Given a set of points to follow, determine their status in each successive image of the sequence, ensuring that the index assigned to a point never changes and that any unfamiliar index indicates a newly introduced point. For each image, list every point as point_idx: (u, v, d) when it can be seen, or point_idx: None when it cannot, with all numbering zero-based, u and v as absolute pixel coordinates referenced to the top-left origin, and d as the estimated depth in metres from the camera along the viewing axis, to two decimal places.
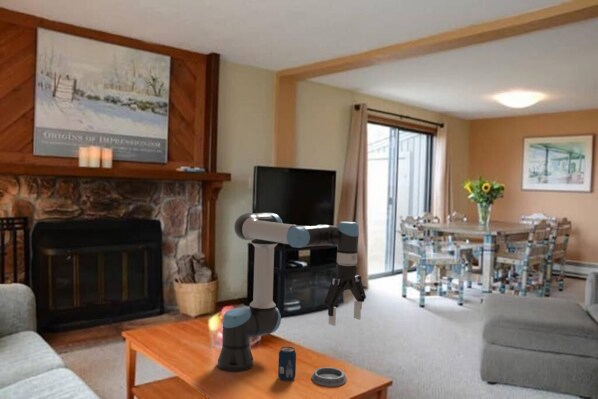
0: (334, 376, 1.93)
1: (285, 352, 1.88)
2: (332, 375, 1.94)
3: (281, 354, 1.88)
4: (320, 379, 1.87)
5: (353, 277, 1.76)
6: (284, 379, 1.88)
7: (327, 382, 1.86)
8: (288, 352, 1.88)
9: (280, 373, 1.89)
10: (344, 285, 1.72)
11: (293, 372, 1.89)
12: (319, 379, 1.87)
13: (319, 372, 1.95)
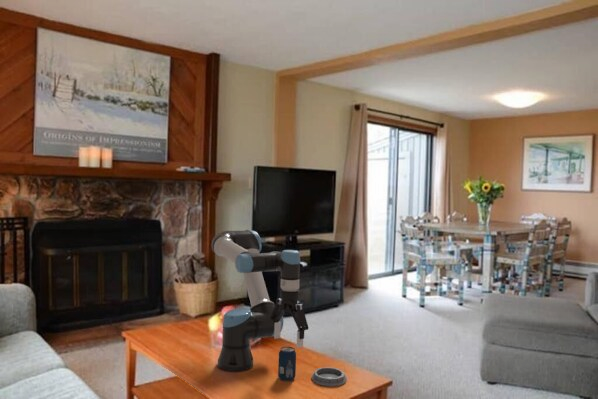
0: (334, 376, 1.93)
1: (285, 352, 1.88)
2: (332, 375, 1.94)
3: (281, 354, 1.88)
4: (320, 379, 1.87)
5: (291, 303, 1.88)
6: (284, 379, 1.88)
7: (327, 382, 1.86)
8: (288, 352, 1.88)
9: (280, 373, 1.89)
10: None
11: (293, 372, 1.89)
12: (319, 379, 1.87)
13: (319, 372, 1.95)
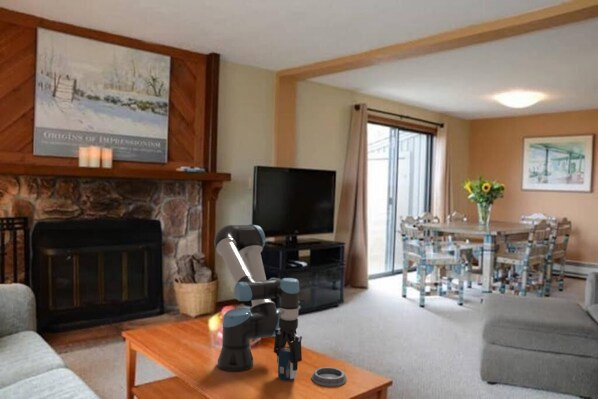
0: (334, 376, 1.93)
1: (285, 352, 1.88)
2: (332, 375, 1.94)
3: (281, 354, 1.88)
4: (320, 379, 1.87)
5: (291, 332, 1.88)
6: (284, 379, 1.88)
7: (327, 382, 1.86)
8: (288, 352, 1.88)
9: (280, 373, 1.89)
10: (281, 336, 1.91)
11: None
12: (319, 379, 1.87)
13: (319, 372, 1.95)
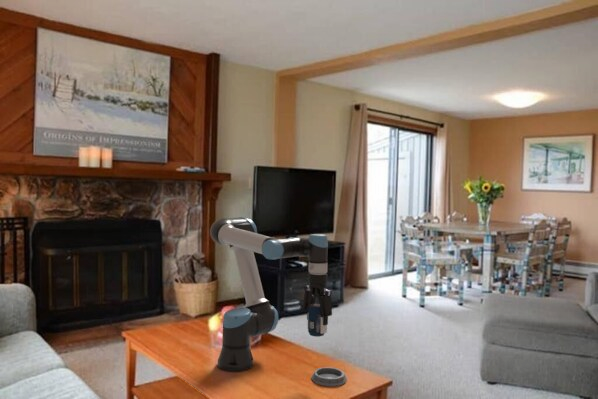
0: (334, 376, 1.93)
1: (315, 307, 1.88)
2: (332, 375, 1.94)
3: (311, 309, 1.88)
4: (320, 379, 1.87)
5: (320, 286, 1.87)
6: (314, 334, 1.87)
7: (327, 382, 1.86)
8: (318, 307, 1.87)
9: (310, 328, 1.88)
10: (310, 292, 1.91)
11: None
12: (319, 379, 1.87)
13: (319, 372, 1.95)
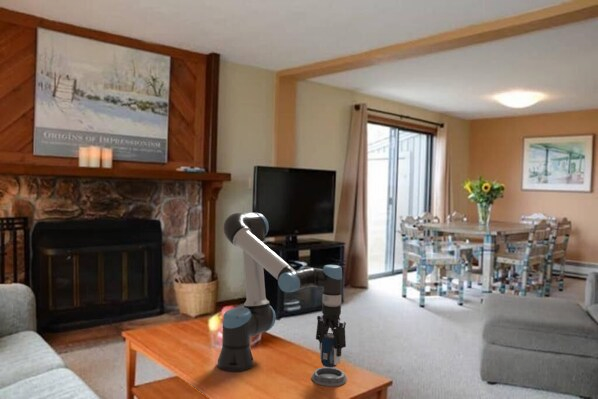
0: (334, 376, 1.93)
1: (329, 338, 1.89)
2: (332, 375, 1.94)
3: (325, 341, 1.89)
4: (320, 379, 1.87)
5: (334, 318, 1.88)
6: (328, 365, 1.89)
7: (327, 382, 1.86)
8: (332, 338, 1.89)
9: (323, 359, 1.89)
10: (323, 322, 1.92)
11: None
12: (319, 379, 1.87)
13: (319, 372, 1.95)
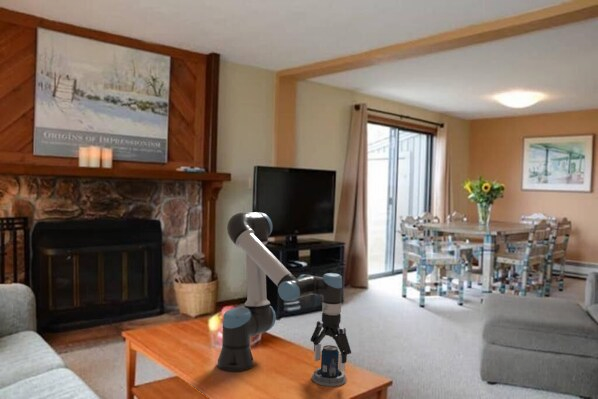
0: None
1: (328, 351, 1.89)
2: None
3: (325, 353, 1.89)
4: (320, 379, 1.87)
5: (333, 327, 1.89)
6: None
7: (327, 382, 1.86)
8: (331, 351, 1.89)
9: (323, 372, 1.89)
10: None
11: (336, 371, 1.89)
12: (319, 379, 1.87)
13: (319, 372, 1.95)
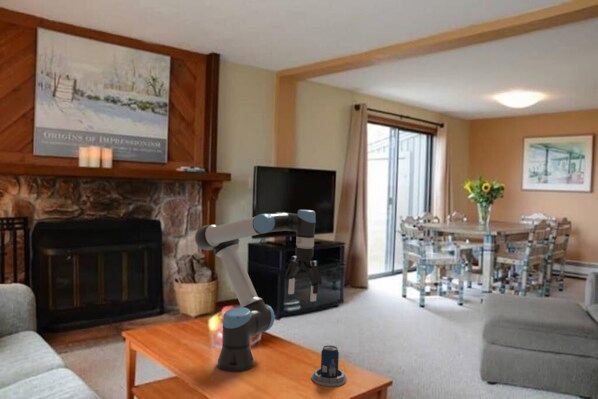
0: None
1: (328, 351, 1.89)
2: None
3: (325, 353, 1.89)
4: (320, 379, 1.87)
5: (306, 260, 1.97)
6: None
7: (327, 382, 1.86)
8: (331, 351, 1.89)
9: (323, 372, 1.89)
10: (296, 263, 2.00)
11: (336, 371, 1.89)
12: (319, 379, 1.87)
13: (319, 372, 1.95)
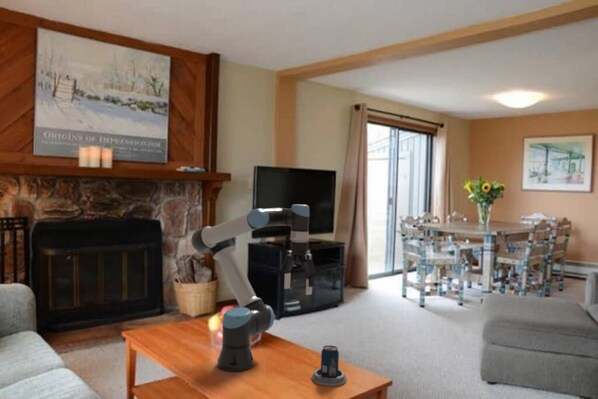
0: None
1: (328, 351, 1.89)
2: None
3: (325, 353, 1.89)
4: (320, 379, 1.87)
5: (301, 254, 1.98)
6: None
7: (327, 382, 1.86)
8: (331, 351, 1.89)
9: (323, 372, 1.89)
10: None
11: (336, 371, 1.89)
12: (319, 379, 1.87)
13: (319, 372, 1.95)
